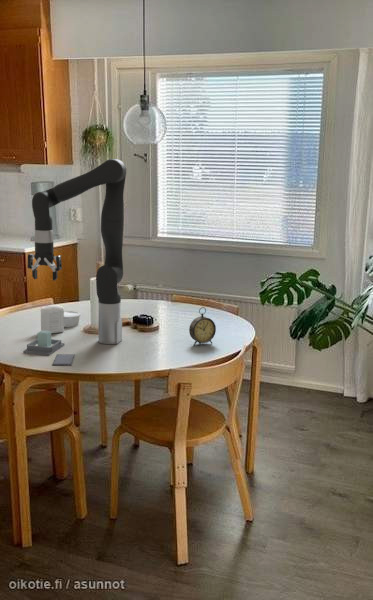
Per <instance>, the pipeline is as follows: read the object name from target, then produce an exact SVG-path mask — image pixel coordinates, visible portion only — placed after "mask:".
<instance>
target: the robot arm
mask: <svg viewBox="0 0 373 600" xmlns="http://www.w3.org/2000/svg"><path fill="white" fill-rule="evenodd" d="M126 177H127V168H126V165H125V164H124V162H123V161H122V160H120V159H119V158H118V159H117V158H109V159H106V160H105V161H104V162H102V163H101V164H99V165H98V166H96V167H95V168H93V169H91V170H90V171H87V172H85V173H83V174H81V175H79V176H75V177H73V178H70V179H68V180H65V181H63V182H60V183H58V184H57V185H55V186H54V187H51V188H49V189H46V190H44V191H39V192H36V193H35V194H33V196H32V199H31V207H32V213H33V216H34V254H33V253H29V254H27V266H26V267H27V269H30V270H31V272H32V273H31V274H32V275H31V276H32V278H33V280H37V279H38V267H39V266H46V267H47V266H48V267H49V268H50V269H51V271H52V281H56V280H57V279H58V274H59V273H58V271H62V269H63V266H62V255H61V254H60V255H54V249H55V247H54V246H55V245H54V232H53V231H54V230H53V229H54V228H53V218H52V216H51V214H50V208H53V207H54V206H56V205H58V204H60V203H63V202H65V201H68V200H71V199H73V198H75V197H77V196H78V197H79V195H82V194H84V193H85V192H87V191H89V190H91V189H93V188H96V187H99V186H103V185H105V197H104V200H103V205H102V208H101V214H100V216H101V217H100V234H101V235H100V236H101V238H102V241H103V245H104V249H105V250H104V251H105V255H104V256H105V257H104V264H103V265H101V266H100V267H99V268H98V269H97V270H96V273H95V274H96V275H95V286H96V287H95V288H96V290H95V291H96V296H97V298H98V302H97V303H98V308H97V309H98V310H97V311H98V313H97V314H98V316H97V317H98V318H97V319H98V320H97V324H98V330H97V331H98V332H97V333H98V335H97V336H98V343H100V344H103V345H117V344H119V343H120V342H121V341H123V319H122V317H121V316H122V315H121V312H122V311H121V310H122V309H121V299H122V298H121V294H120V293H119V292H118V284H119V283H121V281H122V279H123V277H124V263H123V262H124V261H123V246H124V245H123V244H124V243H123V241H124V228H125V227H124V226H125V225H124V222H125V220H124V219H125V215H124V213H125V211H124V210H125V207H124V206H125V205H124V203H125V202H124V201H125V200H124V194H125V193H124V192H125V184H126ZM34 259H35V262H34ZM54 261H55V262H56V263H55V262H54Z"/></svg>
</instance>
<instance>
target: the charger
mask: <svg viewBox="0 0 373 600" xmlns="http://www.w3.org/2000/svg"><path fill="white" fill-rule="evenodd" d="M37 338H38V346H43V347H50V346H51V339H52V333H51V331H44V330H42V331H41V330H40V331H39V332H37Z"/></svg>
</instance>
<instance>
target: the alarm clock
mask: <svg viewBox="0 0 373 600" xmlns="http://www.w3.org/2000/svg"><path fill="white" fill-rule="evenodd" d="M202 309H204V310H205V311H204V312H203V313H201V312H200V311H201V310H202ZM206 312H207V308H206V307H203V306H202V307H200V308H199V309H198V313H199V314H200V316H197V317H195V318H194V319H193V320H191V323H190V325H189V331H188V333H189V335H190V337H191V339H192V340H193V341H194V343H193V344H192V346H193V347H195V345H196V344H197V343H199V344H207V343H209V342H210V344H213V341H212V340H213V338H214V337H215V335H216V331H217V330H216V329H217V327H216V324H215V322H214V320H212V319H211V318H209V317H206V316H204V315H205V313H206Z"/></svg>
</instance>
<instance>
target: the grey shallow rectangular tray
mask: <svg viewBox="0 0 373 600" xmlns="http://www.w3.org/2000/svg"><path fill="white" fill-rule="evenodd" d="M65 345H66V344H65V342H64V343H63V342H62V340H61V339H53V338H51V346H50V347H43V346H38V337H37V338H36V339H34V340H32V341H31V342H29V343H27V344H26V348H25V349H24V350H22V351H23V354H30V355H40V356H51V355H52V354H54V353H55V352H56V351H58V350H60V349H61V348H62V347H64V346H65Z"/></svg>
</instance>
